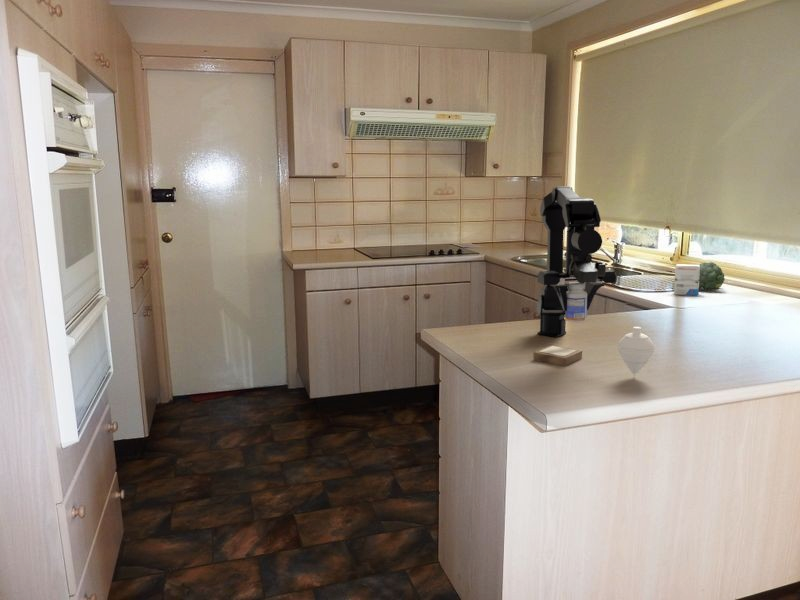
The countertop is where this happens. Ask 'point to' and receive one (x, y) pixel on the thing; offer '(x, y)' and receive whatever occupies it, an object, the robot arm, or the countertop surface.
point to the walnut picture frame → (557, 355)
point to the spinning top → (635, 350)
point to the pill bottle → (576, 303)
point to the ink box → (687, 279)
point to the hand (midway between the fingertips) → (575, 310)
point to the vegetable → (710, 276)
